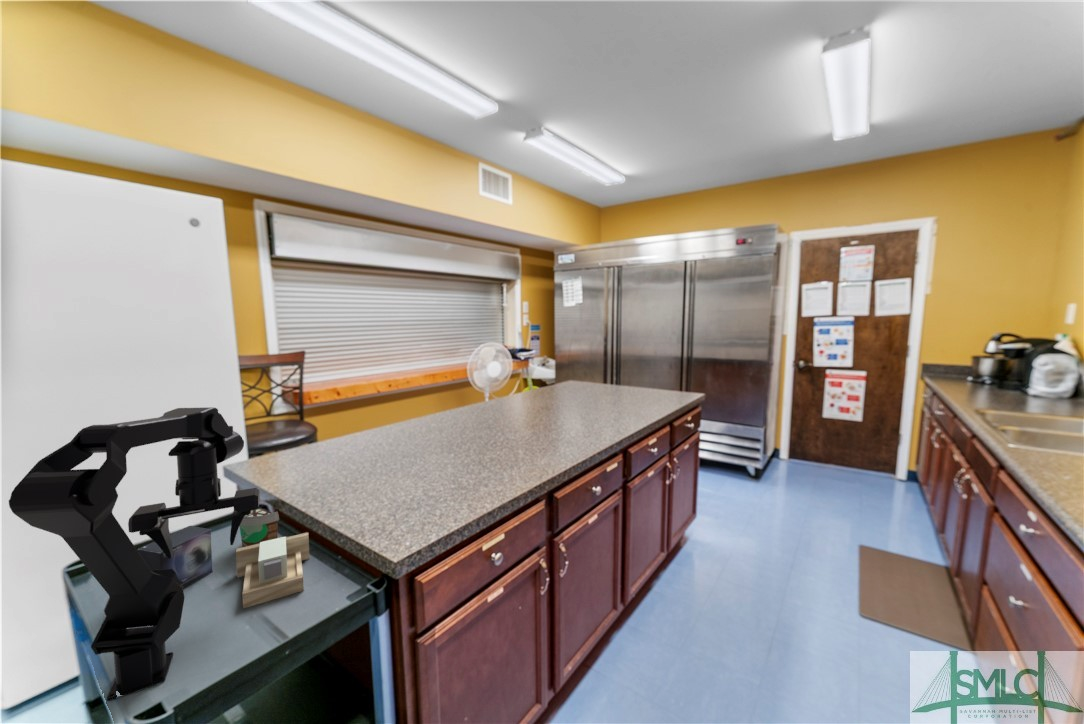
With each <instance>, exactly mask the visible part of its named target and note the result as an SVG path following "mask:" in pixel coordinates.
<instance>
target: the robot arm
mask: <svg viewBox="0 0 1084 724" xmlns="http://www.w3.org/2000/svg"><path fill="white" fill-rule="evenodd" d="M242 437H243V436H241V434H239V433H238V432H237V431H234V425H228V423H227V421H226V420H225V418H224V417H223V415H222V413H220V412H219V409H218V408H216V407H211V406H210V407H177V408H174V409H171V410H168V411H166V412H164V413H163V414H162V415H161V416H159V417H153V418H152V417H151V418H145V419H138V420H132V421H130V420H129V421H124V422H117V423H111V424H92V425H90V426H86V427H83V428H82V429H80V430H79V431H78V432H77V434H75V436H74V437H73V438H72V439H71V440H70V442H68V443H65V445H62V446H61V447H59V448H58V449H56V450H54V451H53V452H51V453H49V454H47V455H46V456H45V457H43V458H41V459H40V460H38V461H37V462H36V464H35V465H34V466H33V467H32V468H31V469H30V470H29V471H28V472H27V474H26V475H25V476H24V477H23V478H22V479H21V480H20V481H19V483H18V484H17V485H15V487H14V489H13V490H12V491H11V493H10V496H9V497H10V498H9V500H8V506H9V509H10V510H11V513H13V514H14V516H17V517H18V518H19V519H20V520H22V521H24V523H26V524H28V525H29V526H30V527H33V528H37V529H39V530H43V531H45V532H49V533H51V534H55V535H58V536H59V537H61V538H62V540H64V541H65V543H66V544H67V545H68V546H69V548H70V549H71V550H72V551H73V553H74V554H75V555H76V556H77V558H78V559H79V560H80V561H81V562H82V564H83V565H84V567H85V568H86V569H87V570H88V572H89V573H90V574H91V575H92V576H93V577H94V579H95V580H96V581H97V582H98V583H99V585H100V586H101V588H103V590H104V591H105V592H106V594H107V595H108V596H109V597H108V599H107V602H106V604H105V606H104V609H103V612H104V614H105V617H104V619H103V622H102V624H101V626H100V628H99V630H98V632H97V633H96V635H95V637H94V639H93V641H92V642H91V646H90V647H91V648H90V649H91V651H93V653H94V654H95V655H101V654H106V653H107V654H108V653H110V654H111V653H113V661H114V662H113V663H114V673H115V675H114V676H115V679H114V681H113V683H112V685H111V687H110V689H109V691H108V694H107V696H106V701H109V702H111V701H112V700H113V701H114V700H115V699H117V698H116V697H117V695H116V691H118V692H119V693H120V695H125V696H127V695H130V694H132V693H136V692H138V691H142V690H145V689H147V688H150V687H154V686H155V685H159V684H162V683H164V682H165V681H166V679H167V677H168V674H169V670H170V667H171V664H172V660H173V657H174V652H171V651H170V652H167V650H166V641H168V639H170V637H171V636H173V634H175V633H176V632H177V630H179V628H180V627H181V622H182V614H183V611H184V610H183V608H184V604H185V603H184V602H185V594H184V589H182V587H181V586H180V585H181V584H182V583H183V581H180V580H179V579H178V578H177V575H176V572H175V571H174V570H172V569H162V570H150V568H149V567H148V565H147V564H146V563H145V561H144V560H143V558H142V557H141V555H140V554H139V552H138V548H136V547H135V545H134V544H133V542H132V541H131V539H130V538H129V536H128V534H127V533H126V532H125V530H124V529H123V527H122V526H121V525H120V524H121V523H119V521H118V520H117V518H116V517H115V515H114V514H113V510H114V508H115V505H116V503H117V499H118V498H119V493H118V492H117V489H116V488H118V486H119V484H121V483H120V482H121V481H122V480H123V478H124V477H125V476H126V474H127V472H128V470H127V469H128V467H127V454H128V453H129V451H130V450H131V449H133V448H137V447H138V448H139V447H142V446H146V445H150V444H156V443H160V442H164V441H170V440H173V439H174V440H175V439H176V440H177V439H182V440H183V441H182V440H181V441H177V443H176V444H175V445H174V447H172V448H171V449H170V451H169V452H168V456H169V457H176V463H177V479H176V481H175V492H174V493H175V494H174V495H175V496H176V497H177V496H178V497H179V505H177V506H176V505H175V506H172V507H167V505H166V503H165V502H160V503H154V504H147V505H143V506H142V505H141V506H139V507H138V508H137V509H136V510H134V512H133V513H132V514H131V516H130V517H129V519H128V523H127V525H128V527H127V528H128V533H133V534H134V533H138V532H139V533H138V534H139V536H145V535H146V536H147V537H149V538H150V539H151V540H152V541H153V542H155V543H156V544H157V545H158V546H159V547H160V548H161V550H162V551H163V552H164V554H165V555H166V556H167V557H168V559H171V558H172V556H173V548H172V542H171V537H170V534H171V532H170V528H169V523H170V522H169V521H170V519H173V518H178V517H185V516H190V515H196V514H200V513H206V512H212V511H218V510H223V509H224V510H225V509H227V508H233V512H232V515H231V523H230V524H231V526H230V534H229V535H230V536H229V544H230V546H233V545H234V543H235V540H236V537H237V534H238V530H239V529H240V524H241V522H242V520H243V518H244V516H246V515H249V514H251V510H255V509H258V508H260V507H259V506H260V500H261V498H260V497H261V495H260V489H258V488H257V487H251V488H244V489H239V490H235V493H234V496H231V497H223V498H219V497H221V496H222V489H221V488H222V486H221V478H219V477H218V476H219V475H218V464H221V463H223V462H225V461H226V460H228V459H230V458H232V457H235V456H236V455H239V454H240V453H241V452H242V451H243V448H244V445H245V442H244V439H243V438H242ZM97 453H99V454H100V453H101V454H102V453H105V455H106V459H105V460H104V462H103V463H102V464H101V466H100V467H99V468H87V469H84V468H83V469H80V468H79V469H74V468H76V467H77V466H79V465H80V464H81V463H83V462H85V461H86V460H88V459H89V458H91V457H92V456H93V454H97Z"/></svg>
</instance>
